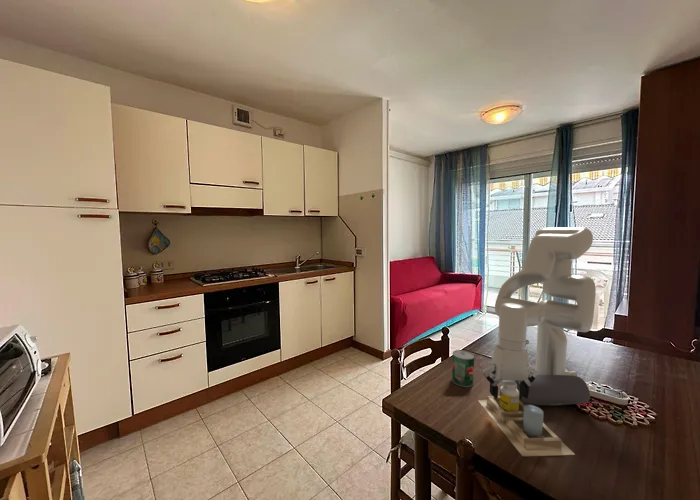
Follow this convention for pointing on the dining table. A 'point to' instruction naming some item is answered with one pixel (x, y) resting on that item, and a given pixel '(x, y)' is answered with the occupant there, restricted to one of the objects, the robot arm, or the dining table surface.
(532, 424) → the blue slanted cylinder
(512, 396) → the supplement bottle
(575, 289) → the robot arm
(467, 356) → the canned tomato
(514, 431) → the cruet stand
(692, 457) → the dining table surface
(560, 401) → the bluetooth speaker
